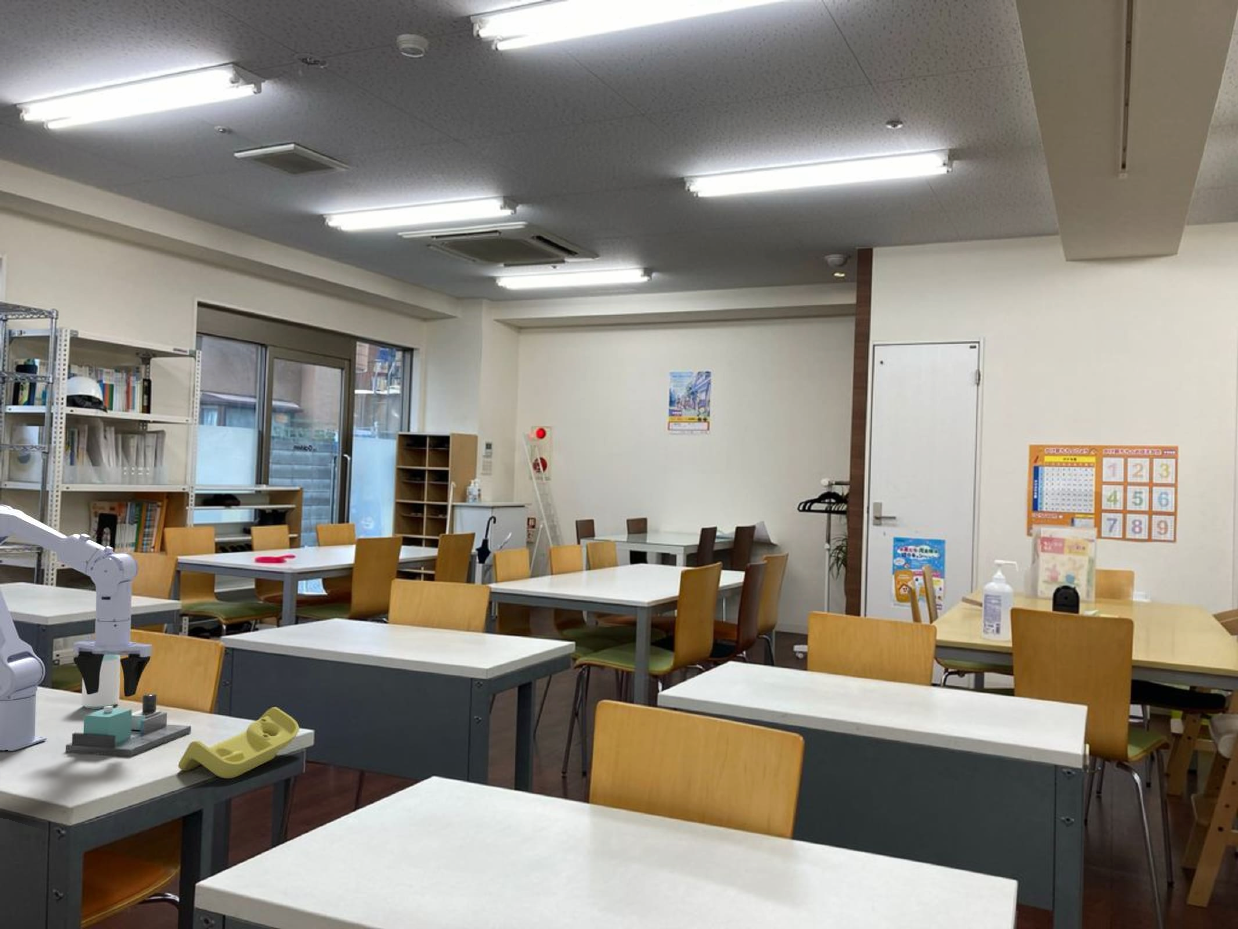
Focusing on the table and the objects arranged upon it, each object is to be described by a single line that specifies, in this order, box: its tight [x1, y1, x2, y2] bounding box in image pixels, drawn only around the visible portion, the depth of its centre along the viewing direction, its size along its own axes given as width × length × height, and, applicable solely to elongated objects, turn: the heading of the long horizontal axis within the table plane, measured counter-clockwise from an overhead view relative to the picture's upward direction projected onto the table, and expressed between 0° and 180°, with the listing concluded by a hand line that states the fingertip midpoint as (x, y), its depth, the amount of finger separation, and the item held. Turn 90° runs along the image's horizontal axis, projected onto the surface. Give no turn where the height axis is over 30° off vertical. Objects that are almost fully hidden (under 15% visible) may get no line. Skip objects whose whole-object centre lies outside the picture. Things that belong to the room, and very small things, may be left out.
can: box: [81, 654, 121, 710], centre depth 204 cm, size 7×7×12 cm
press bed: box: [65, 711, 192, 757], centre depth 176 cm, size 13×17×4 cm
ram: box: [131, 693, 163, 730], centre depth 182 cm, size 4×5×6 cm
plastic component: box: [177, 706, 300, 779], centre depth 166 cm, size 20×7×10 cm
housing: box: [83, 706, 133, 743], centre depth 173 cm, size 5×6×6 cm
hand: (111, 694), depth 173 cm, fingers open, 7 cm apart
